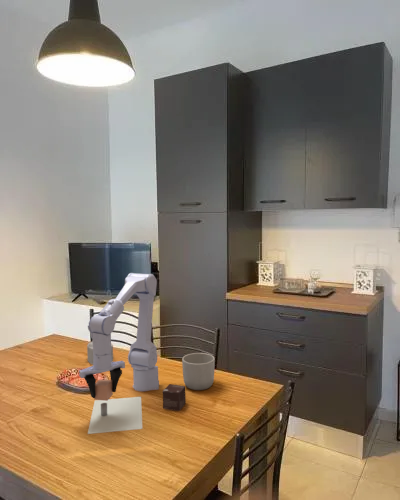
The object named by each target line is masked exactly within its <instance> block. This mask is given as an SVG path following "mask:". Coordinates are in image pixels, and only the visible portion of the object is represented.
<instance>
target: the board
mask: <svg viewBox="0 0 400 500" xmlns="http://www.w3.org/2000/svg"><path fill="white" fill-rule="evenodd" d="M142 410H143V409H142V396H133V397H122V398H120V397H119V398H109V399H108V401H106V400H94V403H93V408H92V411H91V416H90V420H89V426H88V431H87V435H91V434H102V433H112V432H124V431H133V430H142V429H143V413H142V412H143V411H142Z"/></svg>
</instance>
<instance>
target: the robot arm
mask: <svg viewBox="0 0 400 500" xmlns="http://www.w3.org/2000/svg"><path fill="white" fill-rule="evenodd" d="M157 284H158V279H156V277H155V275H154V274H153V273H135V272H130V273H128V275H127V276H126V277H125V279H124V285H123V287H122V288H121V289H120V291H119V293H118V294H117V296H116V297H115V298H111V299H108V301H107V303H106V304H105V305H104V307H103V308H102V309H101V310H100V312H99V313H97V314H96V315H93V316H91V318H90V319H89V321H88V325H87V329H88V332H89V333H90V338H91V340H92V341H93V365H92V366H88V367H86V368H83V369H79V371H78V373H79V377H80V378H81V379H84V380H85V382H86V384H87V385H88V386H87V387H88V390H89V392H90V397H91V398H92V399H94V398H95V396H96V394H95V383H96V382H97V378H95V375H97V374H100V373H101V374H102V373H105V372H109V377H110V380H112V385H113V393H116V392H117V387H118V383H119V380H120V378H121V376H122V375H123V370H122V369H125V368H126V361H124V360H119V361H112V356H111V344H112V336H111V335H112V333H113V332H114V330H115V328H116V324H117V320H118V319H119V317H120V316H121V314H122V313H123V312H124V311H125V306H124V305H125V304H126V303H127V302H128V301H129V300H130V299H131V298H132V296H134V295H136V296H137V297H138V298H139V305H138V315H137V316H138V317H137V329H136V340H135V341H134V342H133V343H131V344H130V348H129V351H128V354H127V361H128V363H129V365H130V366H131V368H132V371H133V372H132V374H133V375H132V376H133V378H132V379H133V384H132V388H133V390H134V391H136V392H148V391H155V390H156V391H157V390H160V388H159V387H160V380H159V366H158V365H157V364H158V363H157V362H158V354H157V350H158V347H157V346H156V345H155V344H154V343H153V342H152V341H151V338H152V327H153V324H152V323H153V312H154V298H155V296H157V295H156V293H157V286H158V285H157Z"/></svg>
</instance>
